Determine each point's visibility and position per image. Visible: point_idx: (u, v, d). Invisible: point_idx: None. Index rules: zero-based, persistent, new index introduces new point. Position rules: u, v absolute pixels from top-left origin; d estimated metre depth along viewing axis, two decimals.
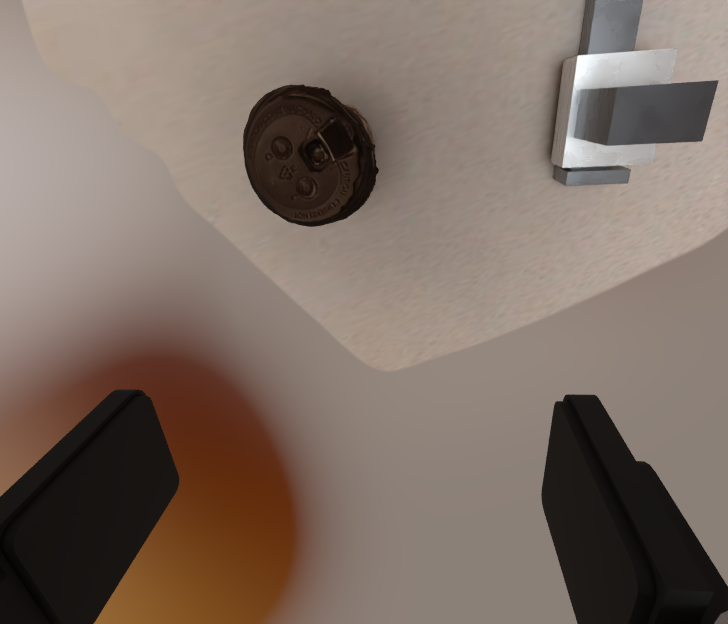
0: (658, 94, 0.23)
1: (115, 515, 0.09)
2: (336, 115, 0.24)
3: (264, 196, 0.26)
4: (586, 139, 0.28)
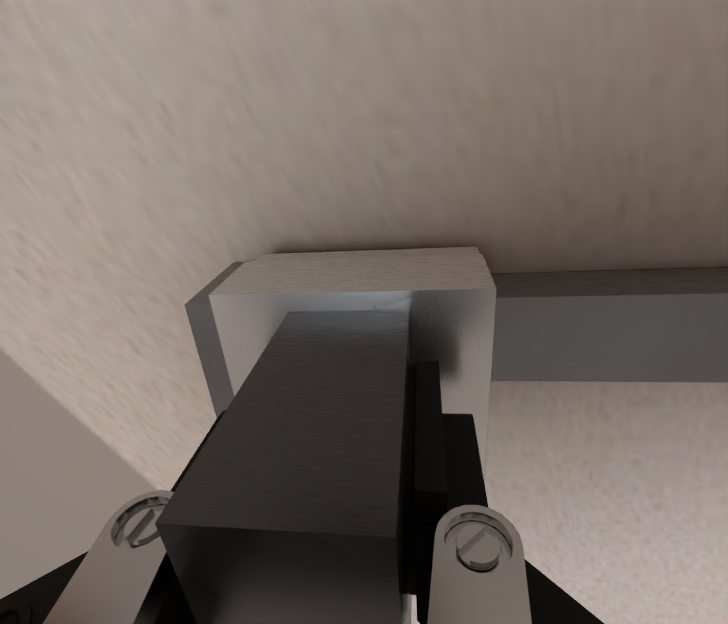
0: None
1: None
2: None
3: None
4: (256, 368, 0.08)
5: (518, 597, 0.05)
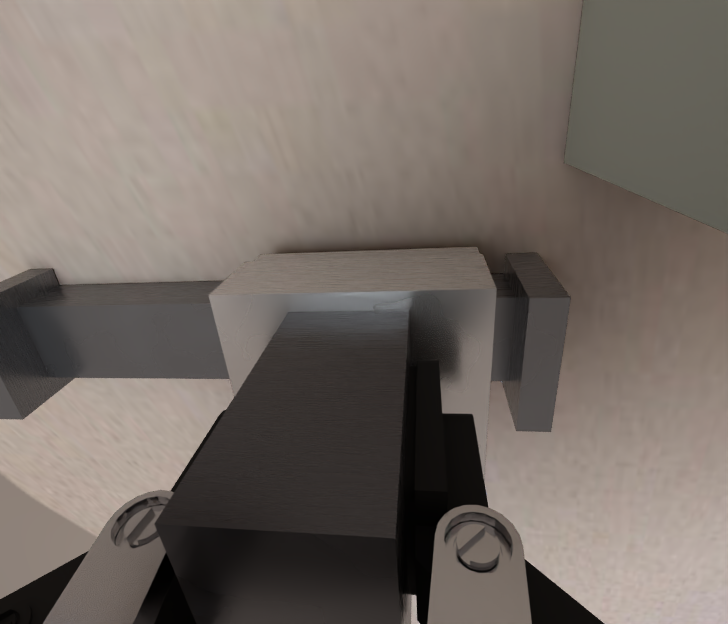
0: None
1: None
2: None
3: None
4: (256, 368, 0.08)
5: (518, 597, 0.05)
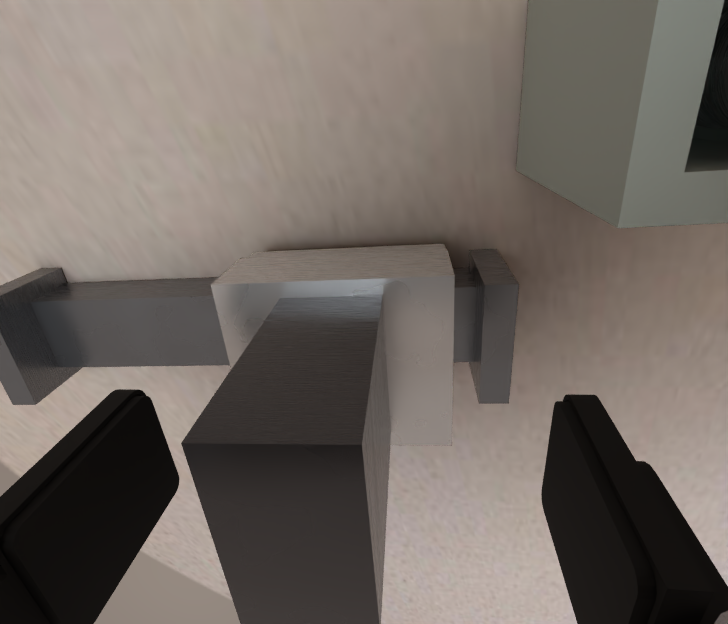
0: (345, 537, 0.08)
1: (115, 515, 0.09)
2: None
3: None
4: (254, 340, 0.10)
5: None
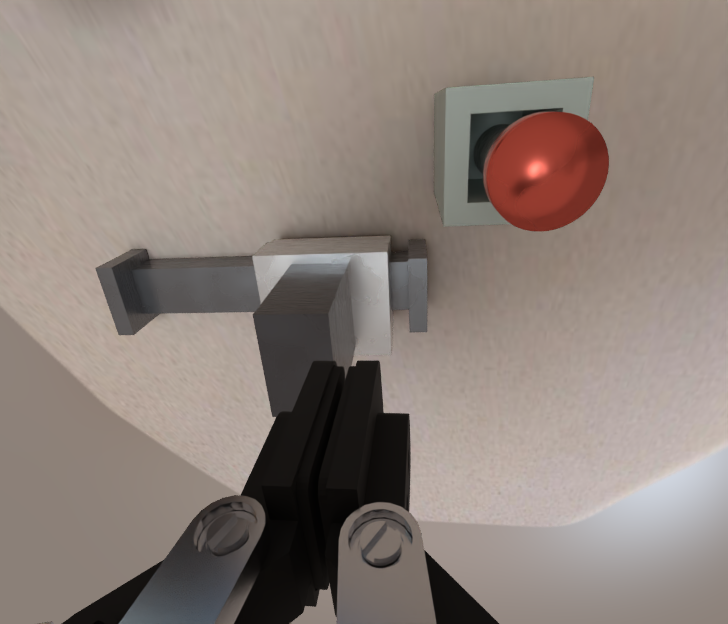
0: None
1: None
2: None
3: None
4: (279, 282, 0.20)
5: (405, 591, 0.05)
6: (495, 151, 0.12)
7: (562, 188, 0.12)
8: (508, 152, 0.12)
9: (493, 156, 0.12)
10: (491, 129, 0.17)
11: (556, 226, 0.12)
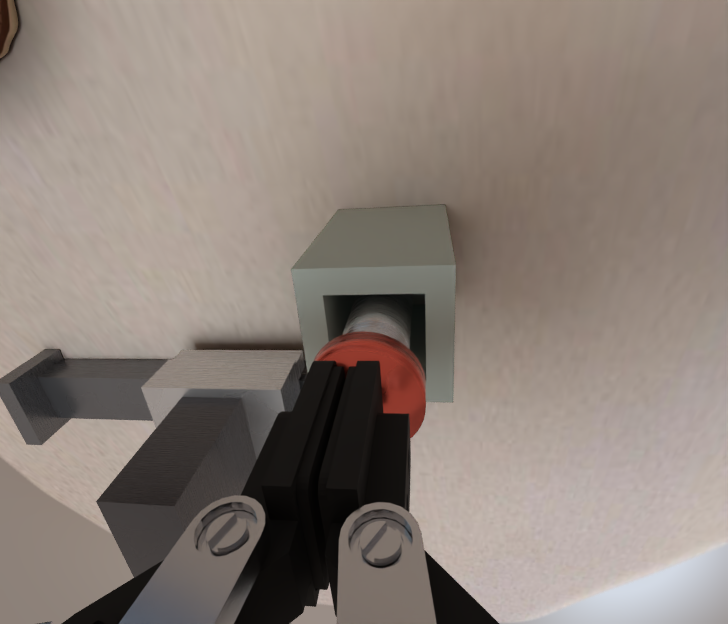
0: None
1: None
2: None
3: None
4: (153, 433, 0.18)
5: (406, 591, 0.05)
6: None
7: None
8: None
9: None
10: None
11: None
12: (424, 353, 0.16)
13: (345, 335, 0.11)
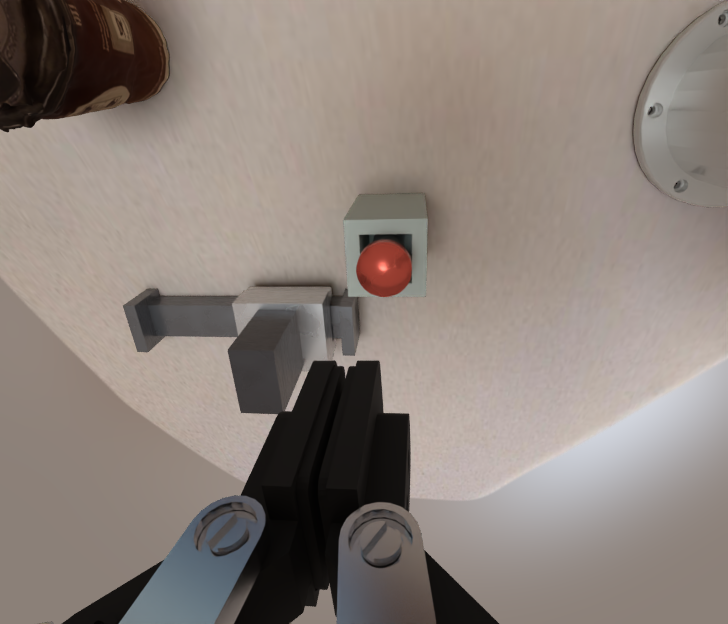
0: (270, 379, 0.28)
1: None
2: (23, 81, 0.19)
3: None
4: (247, 324, 0.30)
5: (405, 591, 0.05)
6: (358, 259, 0.24)
7: (391, 277, 0.25)
8: (364, 260, 0.24)
9: None
10: None
11: (391, 294, 0.25)
12: None
13: (376, 241, 0.25)
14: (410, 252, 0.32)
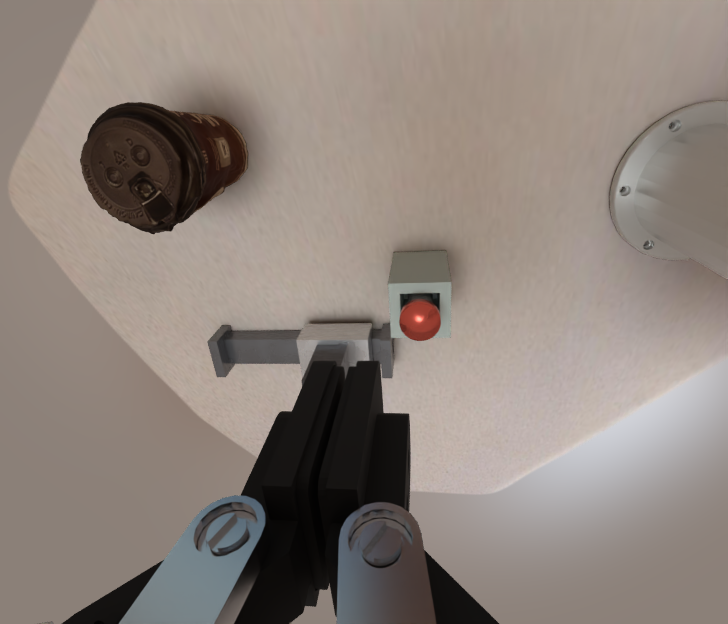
0: None
1: None
2: (176, 207, 0.29)
3: (94, 132, 0.27)
4: (311, 358, 0.39)
5: (406, 591, 0.05)
6: (401, 314, 0.33)
7: (425, 327, 0.33)
8: (405, 315, 0.33)
9: (400, 316, 0.33)
10: None
11: (425, 339, 0.34)
12: None
13: (413, 300, 0.33)
14: (436, 297, 0.41)
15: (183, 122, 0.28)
